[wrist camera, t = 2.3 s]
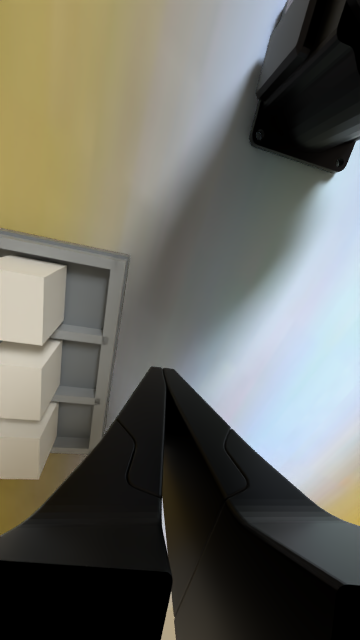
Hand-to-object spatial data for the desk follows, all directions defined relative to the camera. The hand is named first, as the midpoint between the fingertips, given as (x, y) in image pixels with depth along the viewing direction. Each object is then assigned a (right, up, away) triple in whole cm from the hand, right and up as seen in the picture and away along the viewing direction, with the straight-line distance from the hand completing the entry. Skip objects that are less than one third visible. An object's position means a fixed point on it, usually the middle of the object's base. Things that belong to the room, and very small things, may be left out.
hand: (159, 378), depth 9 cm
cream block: (-10, -5, +9) cm, 15 cm away
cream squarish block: (-8, +4, +6) cm, 11 cm away
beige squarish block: (-9, -1, +8) cm, 12 cm away
